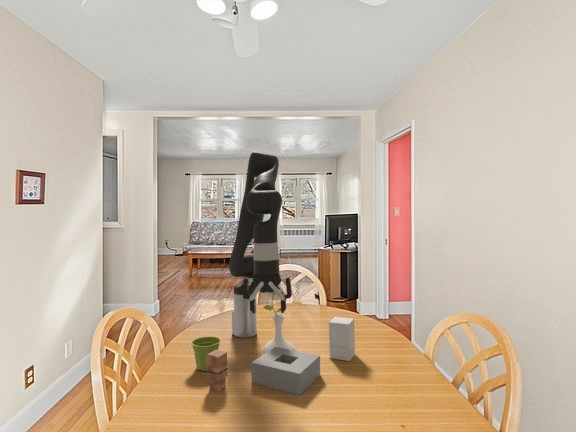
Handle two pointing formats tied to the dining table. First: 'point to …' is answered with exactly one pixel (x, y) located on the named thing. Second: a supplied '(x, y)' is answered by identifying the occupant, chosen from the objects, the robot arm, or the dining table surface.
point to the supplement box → (341, 338)
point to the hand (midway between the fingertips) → (268, 312)
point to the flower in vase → (277, 327)
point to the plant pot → (204, 350)
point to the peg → (217, 369)
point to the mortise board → (286, 370)
